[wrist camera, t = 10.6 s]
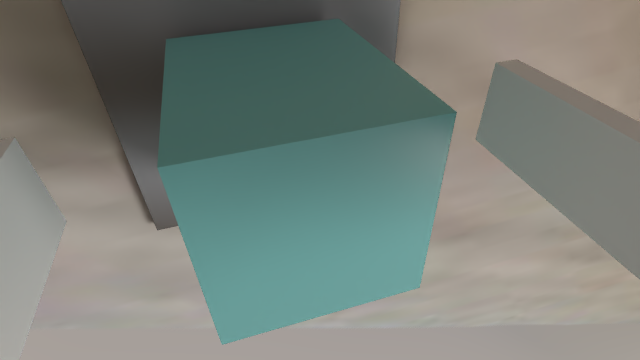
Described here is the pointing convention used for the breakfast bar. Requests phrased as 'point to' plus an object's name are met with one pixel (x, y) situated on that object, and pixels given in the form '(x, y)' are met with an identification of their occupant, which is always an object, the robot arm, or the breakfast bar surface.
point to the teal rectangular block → (298, 171)
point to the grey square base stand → (182, 21)
